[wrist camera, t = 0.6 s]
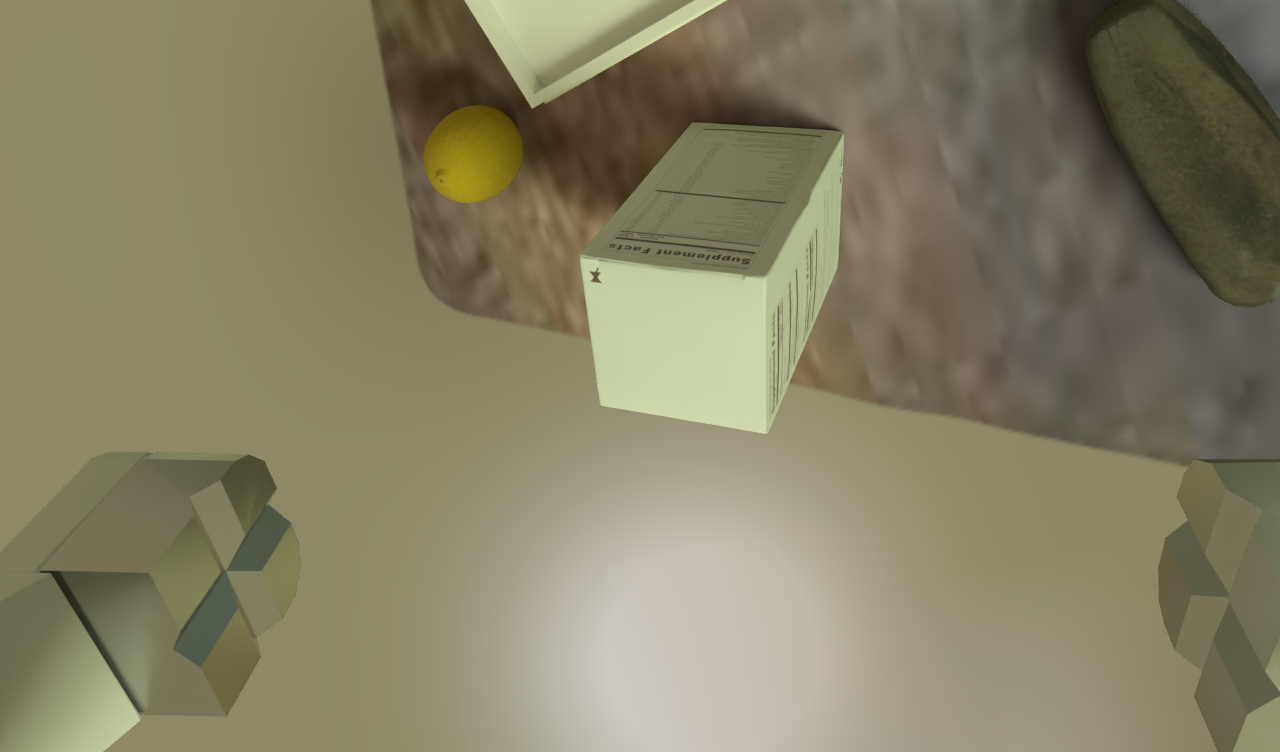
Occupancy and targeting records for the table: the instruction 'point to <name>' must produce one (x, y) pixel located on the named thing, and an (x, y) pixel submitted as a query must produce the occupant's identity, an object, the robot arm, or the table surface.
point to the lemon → (473, 154)
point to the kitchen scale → (574, 36)
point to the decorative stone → (1194, 141)
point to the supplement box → (716, 274)
